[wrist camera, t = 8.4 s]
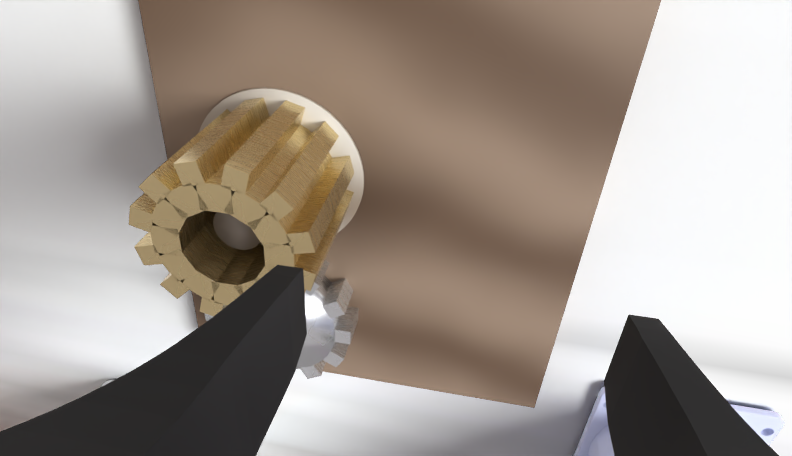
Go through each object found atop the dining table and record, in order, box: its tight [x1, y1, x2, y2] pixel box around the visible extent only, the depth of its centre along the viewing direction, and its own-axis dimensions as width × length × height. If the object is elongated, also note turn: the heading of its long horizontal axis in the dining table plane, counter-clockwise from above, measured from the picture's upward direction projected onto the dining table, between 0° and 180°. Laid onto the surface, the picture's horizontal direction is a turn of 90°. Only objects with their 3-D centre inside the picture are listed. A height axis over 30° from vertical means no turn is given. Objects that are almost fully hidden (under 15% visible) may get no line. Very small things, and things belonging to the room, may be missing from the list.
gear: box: [204, 260, 359, 379], centre depth 22 cm, size 6×6×4 cm
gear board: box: [138, 0, 661, 408], centre depth 20 cm, size 18×16×6 cm
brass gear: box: [129, 98, 354, 316], centre depth 18 cm, size 6×6×5 cm
